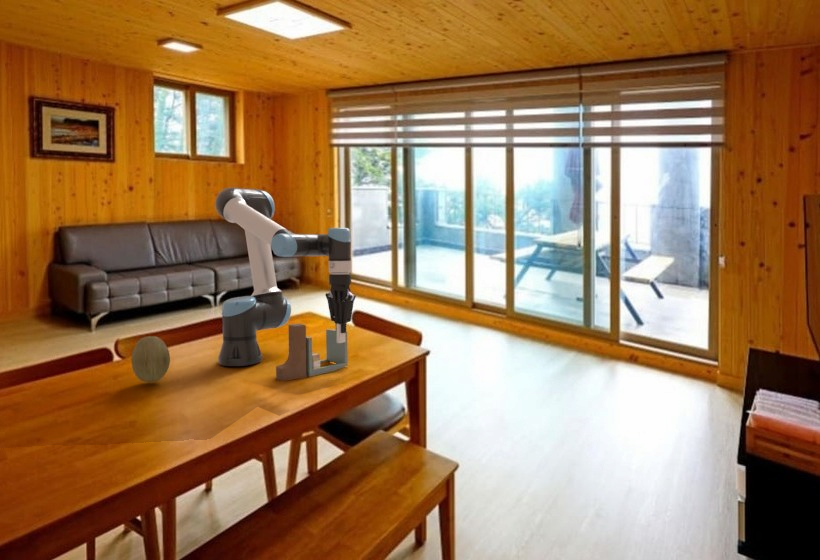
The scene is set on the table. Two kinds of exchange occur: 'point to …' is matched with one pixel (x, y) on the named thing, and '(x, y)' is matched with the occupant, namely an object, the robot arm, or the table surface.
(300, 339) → the wooden block
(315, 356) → the offcut top
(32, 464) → the table surface
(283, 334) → the table surface
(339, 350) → the rack
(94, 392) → the table surface
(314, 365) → the offcut mid
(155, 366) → the fruit
